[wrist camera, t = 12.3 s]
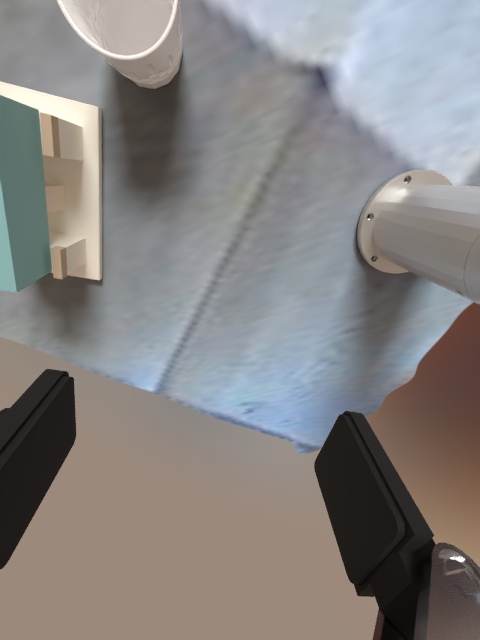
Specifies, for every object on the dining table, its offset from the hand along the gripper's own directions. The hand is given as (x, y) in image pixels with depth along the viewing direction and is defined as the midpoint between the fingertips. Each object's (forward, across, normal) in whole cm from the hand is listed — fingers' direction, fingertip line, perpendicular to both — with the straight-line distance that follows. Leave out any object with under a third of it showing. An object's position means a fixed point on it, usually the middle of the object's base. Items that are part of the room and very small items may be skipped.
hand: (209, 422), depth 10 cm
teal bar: (+22, +19, -2) cm, 29 cm away
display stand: (+28, +19, -2) cm, 34 cm away
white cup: (+29, +10, -17) cm, 35 cm away
